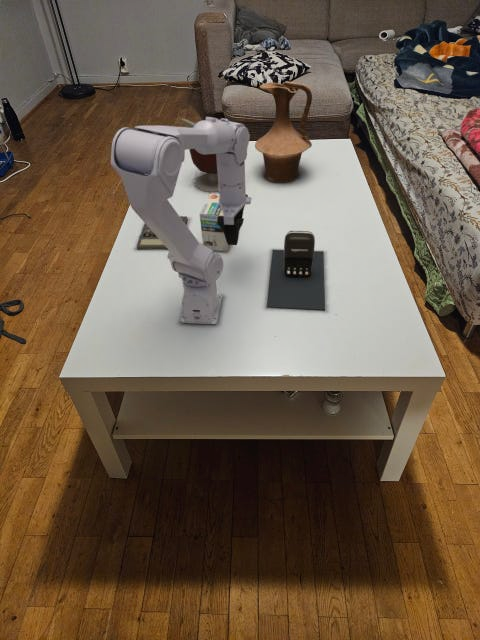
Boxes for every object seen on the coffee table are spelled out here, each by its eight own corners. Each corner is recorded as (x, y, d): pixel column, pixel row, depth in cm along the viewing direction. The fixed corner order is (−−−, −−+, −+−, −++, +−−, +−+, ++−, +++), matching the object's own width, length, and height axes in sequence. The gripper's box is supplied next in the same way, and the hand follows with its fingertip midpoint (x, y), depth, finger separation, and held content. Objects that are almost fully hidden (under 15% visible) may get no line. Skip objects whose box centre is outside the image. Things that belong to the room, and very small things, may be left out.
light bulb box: (227, 252, 118) (225, 216, 111) (202, 250, 119) (198, 213, 112) (235, 230, 126) (234, 194, 118) (212, 228, 127) (209, 192, 119)
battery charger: (282, 279, 109) (284, 239, 101) (283, 269, 112) (284, 229, 104) (312, 280, 108) (316, 239, 100) (311, 270, 111) (315, 230, 103)
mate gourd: (238, 173, 150) (236, 110, 136) (233, 193, 140) (230, 128, 126) (192, 172, 152) (185, 109, 138) (184, 192, 142) (176, 127, 128)
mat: (325, 310, 101) (325, 309, 101) (266, 307, 103) (266, 306, 102) (323, 252, 117) (323, 251, 117) (272, 250, 118) (272, 249, 118)
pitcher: (310, 164, 153) (317, 73, 134) (308, 189, 141) (315, 92, 121) (258, 162, 155) (257, 72, 136) (251, 186, 143) (250, 91, 124)
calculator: (187, 215, 130) (180, 246, 119) (187, 218, 131) (180, 249, 120) (147, 215, 131) (136, 246, 120) (147, 218, 131) (136, 249, 120)
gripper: (247, 197, 90) (248, 253, 100) (253, 164, 101) (254, 218, 110) (212, 197, 91) (216, 252, 101) (222, 164, 101) (225, 217, 111)
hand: (234, 234), depth 106 cm, fingers open, 7 cm apart
